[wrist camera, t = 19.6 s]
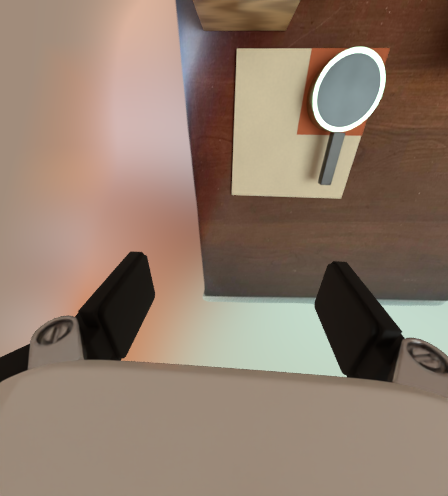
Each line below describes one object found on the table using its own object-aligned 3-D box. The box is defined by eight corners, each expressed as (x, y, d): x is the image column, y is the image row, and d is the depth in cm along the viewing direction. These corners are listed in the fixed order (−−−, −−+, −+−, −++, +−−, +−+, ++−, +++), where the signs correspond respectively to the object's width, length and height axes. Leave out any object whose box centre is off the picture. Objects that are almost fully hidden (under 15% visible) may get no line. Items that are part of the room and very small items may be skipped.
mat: (231, 194, 42) (231, 195, 41) (236, 49, 30) (236, 48, 30) (339, 197, 41) (341, 198, 40) (387, 49, 29) (390, 48, 29)
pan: (344, 180, 38) (354, 186, 35) (291, 179, 39) (296, 184, 35) (385, 53, 29) (404, 43, 26) (314, 53, 30) (324, 43, 26)
